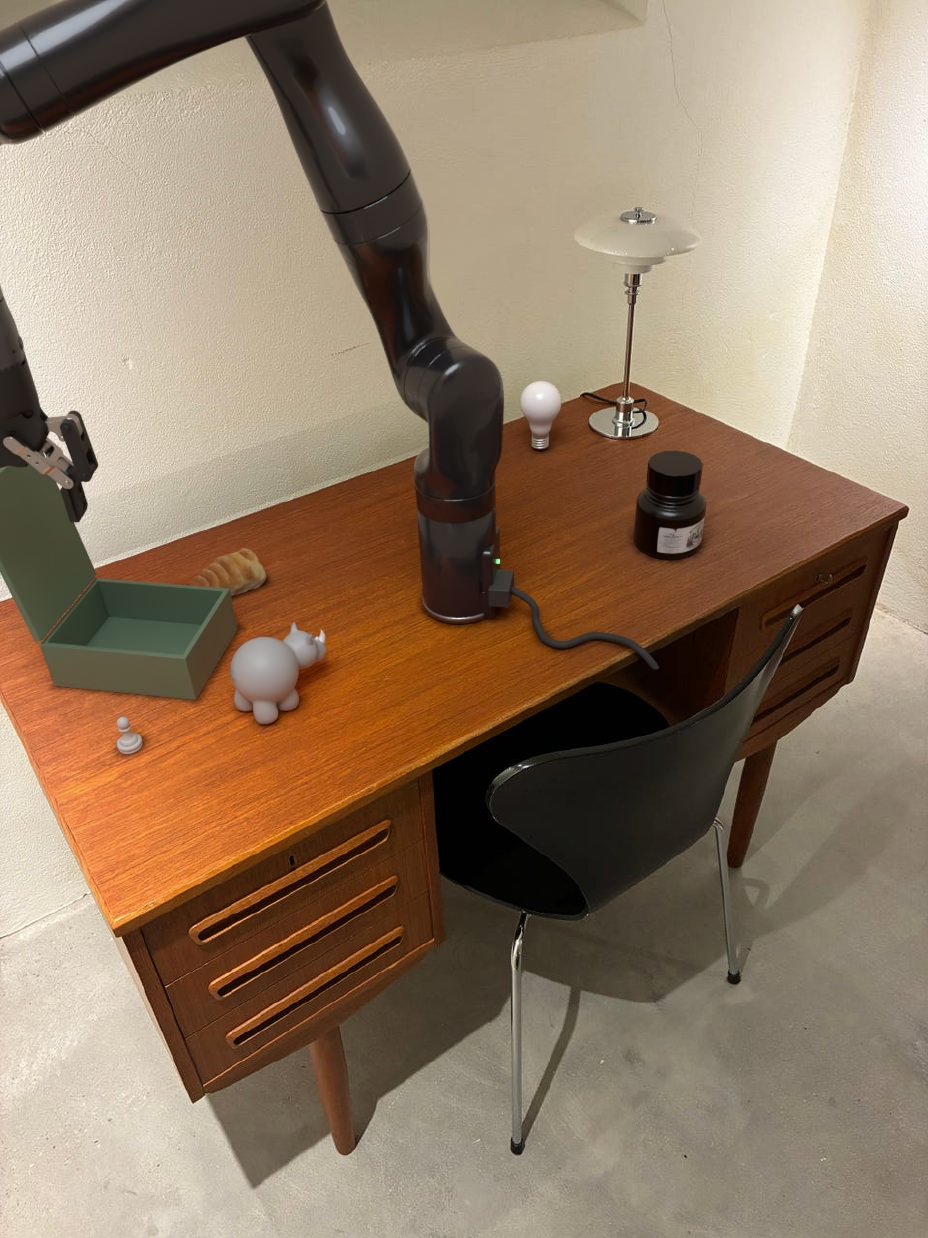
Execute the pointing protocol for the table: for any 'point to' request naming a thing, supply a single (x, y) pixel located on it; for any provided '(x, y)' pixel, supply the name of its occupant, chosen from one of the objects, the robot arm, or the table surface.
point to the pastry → (232, 573)
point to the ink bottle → (671, 506)
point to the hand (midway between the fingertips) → (33, 520)
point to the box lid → (39, 549)
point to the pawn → (127, 738)
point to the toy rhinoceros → (273, 672)
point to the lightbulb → (540, 410)
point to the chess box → (141, 638)
